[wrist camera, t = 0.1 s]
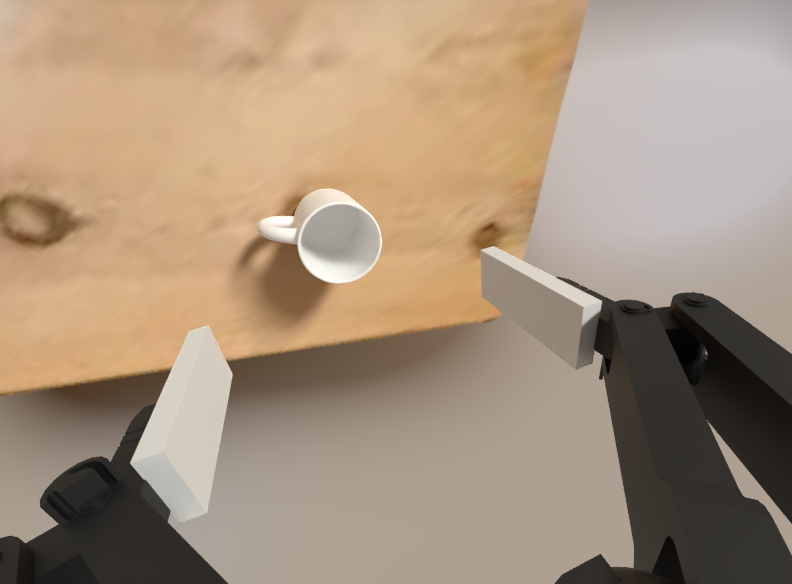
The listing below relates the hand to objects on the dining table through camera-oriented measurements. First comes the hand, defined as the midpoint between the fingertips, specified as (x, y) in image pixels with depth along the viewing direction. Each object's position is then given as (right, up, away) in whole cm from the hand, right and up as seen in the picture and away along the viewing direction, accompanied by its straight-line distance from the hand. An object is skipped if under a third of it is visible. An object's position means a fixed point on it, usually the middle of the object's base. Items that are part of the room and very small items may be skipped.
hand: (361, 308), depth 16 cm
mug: (-9, +10, +25) cm, 28 cm away
